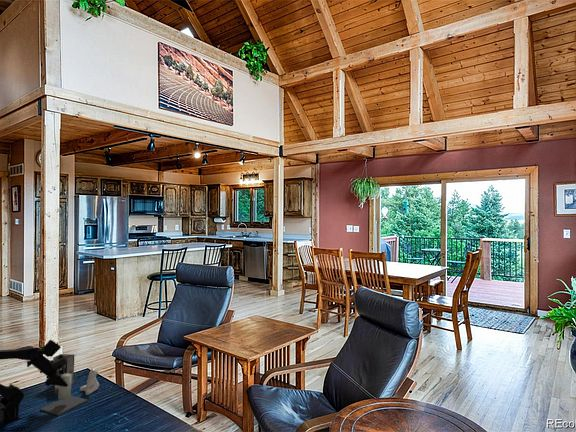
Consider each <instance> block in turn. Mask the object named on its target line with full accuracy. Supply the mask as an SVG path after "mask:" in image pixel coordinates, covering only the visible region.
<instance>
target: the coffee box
mask: <svg viewBox="0 0 576 432" xmlns="http://www.w3.org/2000/svg"><path fill="white" fill-rule="evenodd" d="M60 355H64V356H67V359H68V363H67V364H65V365H64V366H62V367H61V368H63V367H65V368H64V372H65V374H66V373H70V374H72V379H71V384H73V383H74V382H75V381H74V379H75V377H74V376H75V354H73V353H72V354H71V353H70V354H68V353H67V354H66V353H59V354H58V355H55V357H52V360H53V361H56V360H57V359H59V356H60ZM53 386H54V387H55V385H52V387H53Z"/></svg>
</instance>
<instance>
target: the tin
mask: <svg viewBox="0 0 576 432" xmlns="http://www.w3.org/2000/svg"><path fill="white" fill-rule="evenodd" d="M58 391H59V386H58V385H55V386H54V395H55V396H58Z"/></svg>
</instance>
